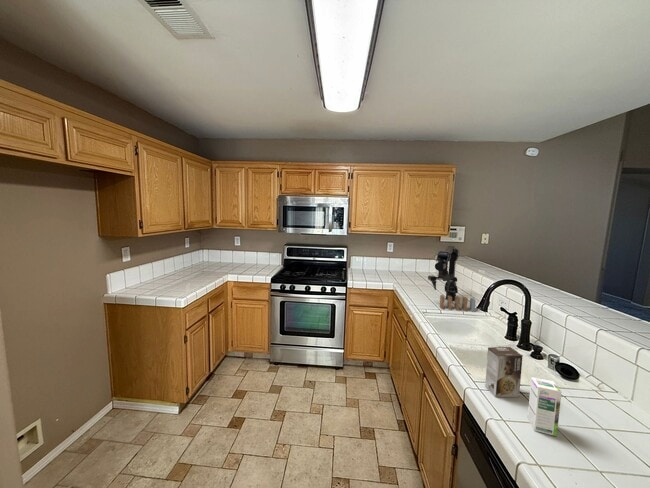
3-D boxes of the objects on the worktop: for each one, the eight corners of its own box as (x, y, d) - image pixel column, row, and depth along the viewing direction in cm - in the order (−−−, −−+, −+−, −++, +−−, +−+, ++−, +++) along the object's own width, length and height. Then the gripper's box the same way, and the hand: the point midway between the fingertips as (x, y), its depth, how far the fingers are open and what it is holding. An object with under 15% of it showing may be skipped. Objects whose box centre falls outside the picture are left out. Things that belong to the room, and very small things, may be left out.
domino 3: (456, 310, 185) (457, 298, 184) (454, 308, 190) (455, 296, 189) (459, 310, 185) (459, 298, 184) (457, 308, 190) (457, 296, 189)
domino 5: (471, 311, 183) (472, 299, 182) (469, 309, 188) (470, 297, 187) (474, 312, 183) (475, 299, 182) (472, 309, 188) (473, 297, 187)
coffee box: (506, 386, 102) (510, 346, 100) (519, 397, 95) (523, 355, 94) (483, 386, 101) (487, 346, 100) (495, 397, 95) (499, 355, 93)
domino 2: (448, 309, 186) (449, 297, 186) (446, 307, 191) (447, 295, 190) (451, 310, 186) (452, 297, 185) (449, 307, 191) (450, 295, 190)
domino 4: (463, 311, 184) (464, 298, 183) (461, 308, 189) (462, 296, 188) (466, 311, 184) (467, 298, 183) (464, 309, 189) (465, 296, 188)
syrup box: (533, 431, 80) (538, 386, 79) (526, 417, 86) (531, 375, 84) (557, 437, 78) (562, 391, 77) (548, 422, 84) (553, 380, 82)
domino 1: (441, 309, 187) (441, 297, 187) (439, 306, 192) (440, 295, 191) (443, 309, 187) (444, 297, 186) (442, 307, 192) (443, 295, 191)
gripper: (434, 270, 179) (432, 292, 180) (461, 271, 178) (460, 293, 180) (428, 267, 190) (427, 288, 192) (454, 268, 190) (452, 289, 191)
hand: (441, 290), depth 188 cm, fingers open, 9 cm apart
